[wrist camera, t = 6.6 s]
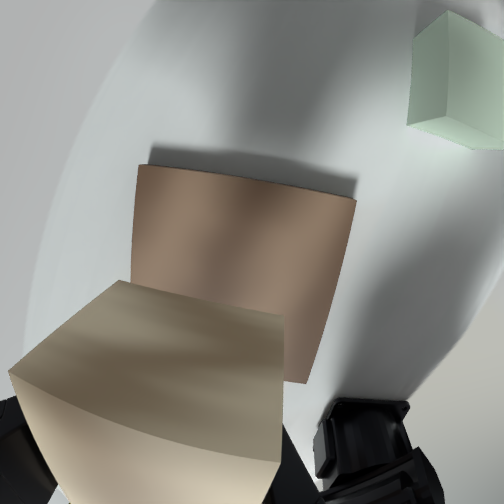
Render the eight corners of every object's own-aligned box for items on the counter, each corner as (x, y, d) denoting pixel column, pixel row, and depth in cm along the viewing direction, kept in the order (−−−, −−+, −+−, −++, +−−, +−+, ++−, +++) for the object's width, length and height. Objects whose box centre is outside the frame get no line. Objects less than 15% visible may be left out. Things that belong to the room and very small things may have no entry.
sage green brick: (476, 67, 14) (519, 50, 9) (471, 149, 15) (519, 150, 11) (412, 39, 14) (447, 9, 9) (405, 125, 16) (446, 115, 11)
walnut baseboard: (351, 198, 17) (356, 200, 16) (305, 373, 20) (306, 384, 19) (147, 164, 17) (138, 164, 16) (138, 338, 21) (131, 347, 20)
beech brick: (284, 315, 9) (281, 462, 4) (249, 446, 10) (232, 557, 6) (118, 280, 9) (8, 371, 4) (126, 415, 11) (73, 507, 6)
